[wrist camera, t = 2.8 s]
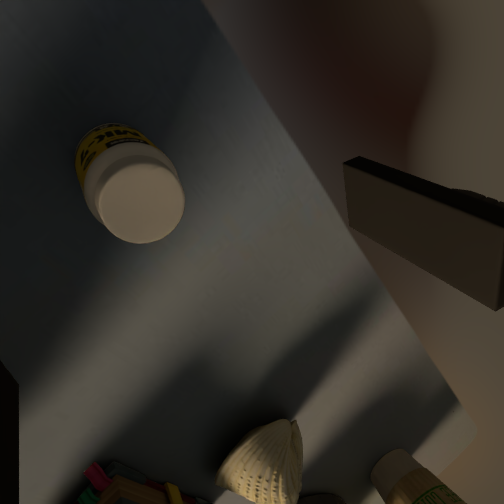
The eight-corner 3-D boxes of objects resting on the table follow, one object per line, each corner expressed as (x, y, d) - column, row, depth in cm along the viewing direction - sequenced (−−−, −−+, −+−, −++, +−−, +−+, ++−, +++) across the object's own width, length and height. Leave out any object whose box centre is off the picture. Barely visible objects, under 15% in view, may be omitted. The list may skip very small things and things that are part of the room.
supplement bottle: (130, 108, 26) (168, 134, 19) (165, 175, 28) (210, 220, 21) (56, 144, 25) (67, 186, 18) (99, 211, 27) (124, 269, 21)
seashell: (323, 427, 44) (305, 513, 42) (250, 404, 48) (229, 481, 45) (303, 424, 37) (280, 526, 35) (219, 397, 41) (192, 488, 38)
